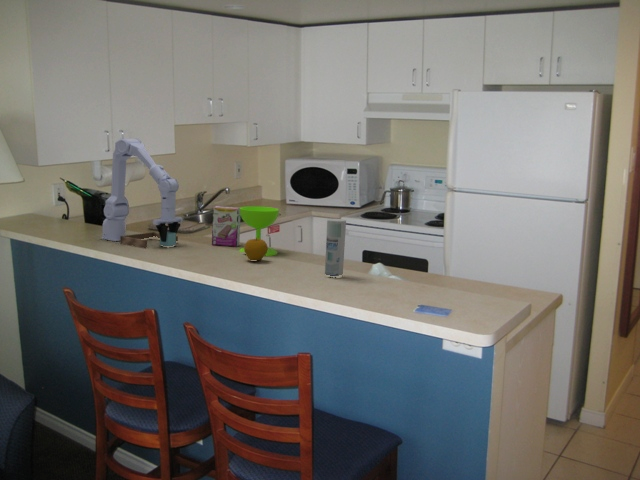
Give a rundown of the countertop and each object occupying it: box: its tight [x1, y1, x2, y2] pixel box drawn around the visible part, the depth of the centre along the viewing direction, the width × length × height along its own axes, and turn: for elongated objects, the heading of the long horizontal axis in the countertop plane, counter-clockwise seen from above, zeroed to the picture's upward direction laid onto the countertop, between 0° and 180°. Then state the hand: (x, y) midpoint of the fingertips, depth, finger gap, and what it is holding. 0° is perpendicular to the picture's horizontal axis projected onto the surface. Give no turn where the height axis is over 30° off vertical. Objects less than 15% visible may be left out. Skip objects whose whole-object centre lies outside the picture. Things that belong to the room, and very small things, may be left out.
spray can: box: [324, 218, 347, 276], centre depth 231 cm, size 6×6×20 cm
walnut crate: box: [119, 231, 179, 249], centre depth 280 cm, size 15×18×3 cm
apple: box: [243, 237, 269, 261], centre depth 252 cm, size 9×9×9 cm
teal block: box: [159, 231, 177, 246], centre depth 274 cm, size 5×4×6 cm
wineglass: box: [238, 206, 280, 257], centre depth 270 cm, size 16×16×18 cm
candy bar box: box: [211, 205, 241, 248], centre depth 283 cm, size 11×5×16 cm, turn 84°
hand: (167, 241), depth 274 cm, fingers open, 4 cm apart
